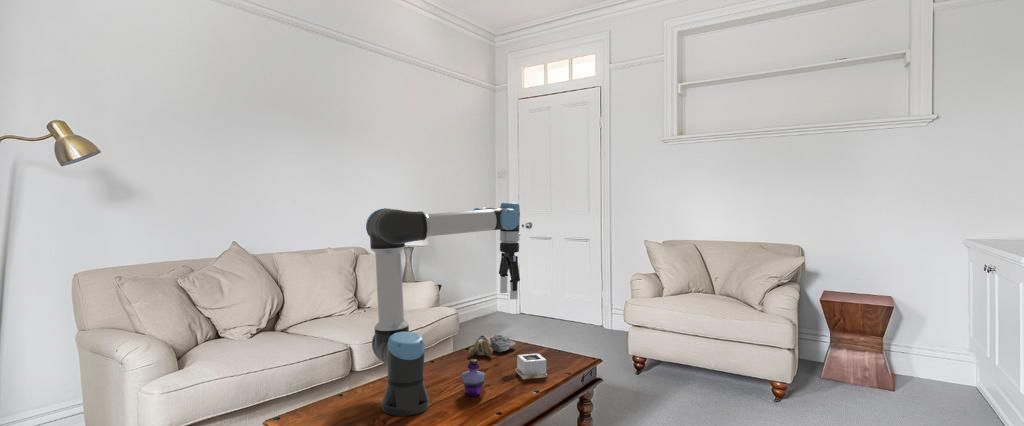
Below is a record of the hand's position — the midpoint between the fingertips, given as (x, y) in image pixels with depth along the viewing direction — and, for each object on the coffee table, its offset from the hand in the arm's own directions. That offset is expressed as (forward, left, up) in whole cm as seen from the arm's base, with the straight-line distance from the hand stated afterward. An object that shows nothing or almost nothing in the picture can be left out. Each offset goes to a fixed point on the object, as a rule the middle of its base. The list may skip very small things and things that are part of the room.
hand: (508, 296), depth 208 cm
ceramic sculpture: (-3, +27, -31) cm, 41 cm away
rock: (+7, +33, -31) cm, 46 cm away
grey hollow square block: (+9, -3, -30) cm, 31 cm away
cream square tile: (+9, -3, -31) cm, 32 cm away
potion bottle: (-18, -18, -31) cm, 40 cm away
